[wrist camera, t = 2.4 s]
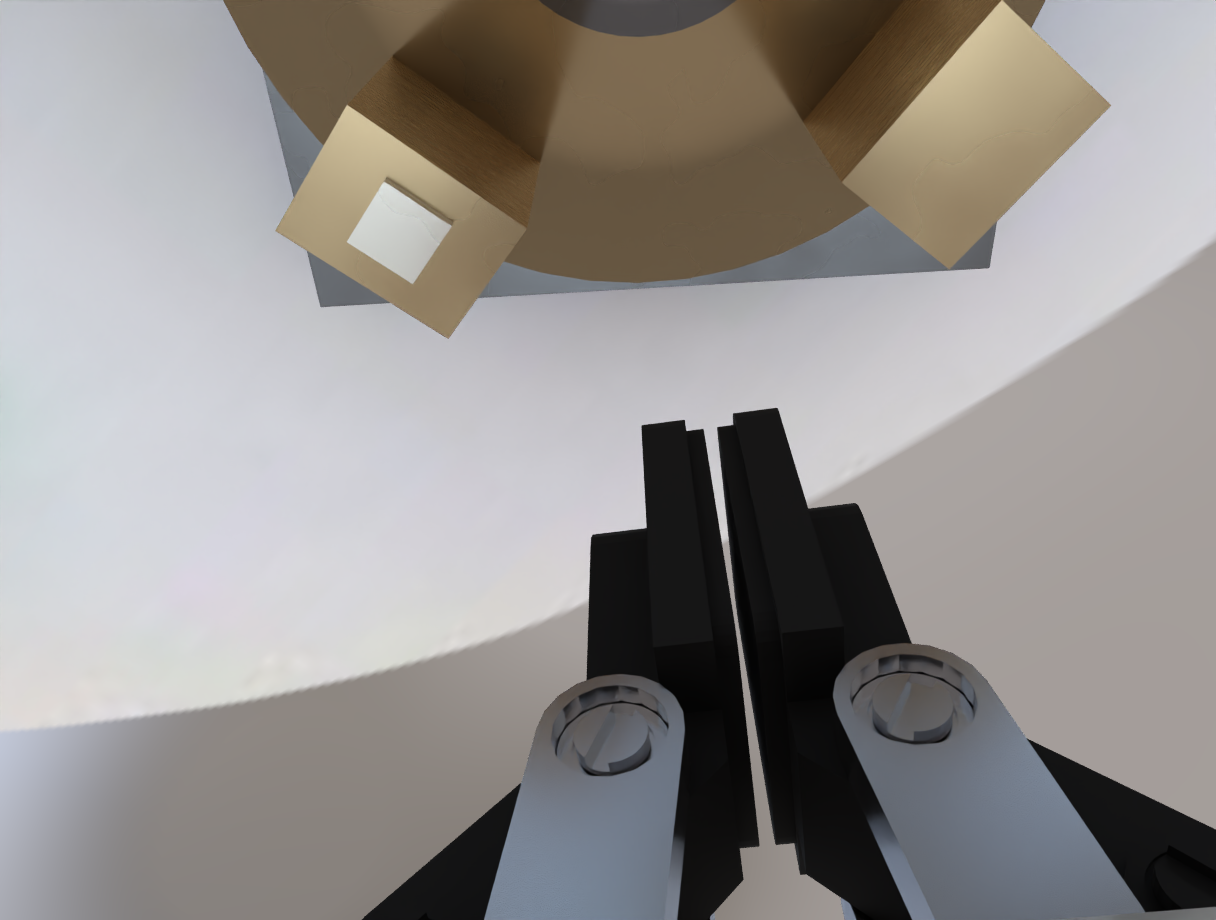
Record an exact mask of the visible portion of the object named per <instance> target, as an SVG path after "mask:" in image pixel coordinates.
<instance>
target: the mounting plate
mask: <svg viewBox="0 0 1216 920" xmlns="http://www.w3.org/2000/svg"><path fill="white" fill-rule="evenodd" d="M263 73H264V77H265V81H266V85H267V89H268V94H269V98H270V102H271V106H272V110H273V114H274V118H275V122H276V126H277V130H278V134H279V139H280V143H281V147H282V151H283V155H284V159H285V163H286V167H287V171H288V175H289V179H290V184H291V188H292V192H293V196H294V197H295V195H296V194H297V192H298V190H299V188H300V187H301V185H302V183H303V181H304V180H305V178H306V176H307V174H308V172H309V171H310V169H311V167H312V165H313V164H314V162H315V160H316V158H317V157H318V155H319V153H320V151H321V150H322V148H323V145H322V144H321V143H320V142H319V141H318V139H317V138H316V137H315V136H314V135H313V133H312V132H311V131H310V130H309V129H308V128H307V126H306V125H305V124H304V123H303V122H302V120H301V119H300V118H299V117H298V116H297V115H296V113H295V112H294V111H293V110H292V109H291V107H290V106H289V105H288V104H287V103H286V102H285V100H284V99H283V98H282V97H281V95H280V94H279V92H278V91H277V89H276V88H275V86H274V85H273V83H272V82H271V80H270V79H269V77H268V76H267V74H266V73H265V71H264V70H263ZM996 224H997V222H996V223H995V224H994V225H993V226H992V227H991V228H990V229H989V230H988V231H987V232H986V233H985V234H984V235H983V236H982V237H981V238H980V239H979V240H978V241H977V242H976V243H975V244H974V245H973V246H972V247H971V248H970V249H969V250H968V251H967V252H966V253H965V254H964V255H963V256H962V257H961V258H960V259H959V260H958V261H957V262H956V263H955V264H954V265H953V266H952V267H951V268H950V269H948V268H947V267H945V266H944V265H943V264H942V263H940V262H939V261H938V260H937V259H935V258H934V257H933V256H932V255H930V254H929V253H928V252H927V251H926V250H924V249H923V248H922V247H921V246H919V245H918V244H917V243H916V242H914V241H913V240H912V239H911V238H910V237H908V236H907V235H906V234H905V233H903V232H902V231H901V230H900V229H898V228H897V227H896V226H895V225H893V224H892V223H891V222H890V221H889V220H887V219H886V218H885V217H884V216H882V215H881V214H880V213H879V212H877V211H876V210H875V209H874V208H872V207H871V206H869V207H867V208H865V209H864V210H862V211H861V212H859V213H857V214H856V215H854V216H853V217H851V218H849V219H848V220H846V221H844V222H843V223H841V224H840V225H838V226H836V227H835V228H833V229H831V230H830V231H828V232H826V233H824V234H822V235H820V236H818V237H816V238H813V239H811V240H809V241H807V242H805V243H803V244H801V245H799V246H796V247H794V248H792V249H790V250H788V251H786V252H784V253H781V254H779V255H776V256H773V257H770V258H767V259H763V260H760V261H757V262H754V263H751V264H748V265H745V266H742V267H739V268H736V269H733V270H728V271H723V272H718V273H713V274H708V275H703V276H699V277H694V278H689V279H681V280H668V281H655V282H643V283H629V282H606V281H588V280H582V279H576V278H570V277H564V276H558V275H552V274H546V273H541V272H537V271H534V270H531V269H527V268H524V267H520V266H517V265H514V264H510V263H507V262H503V263H502V265H501V266H500V267H499V269H498V270H497V271H496V273H495V274H494V276H493V277H492V278H491V280H490V281H489V283H488V284H487V285H486V287H485V288H484V290H483V291H482V292H481V294H480V295H479V297H478V298H484V297H501V296H518V295H536V294H553V293H570V292H587V291H604V290H621V289H639V288H656V287H673V286H690V285H707V284H724V283H742V282H759V281H776V280H793V279H810V278H827V277H844V276H862V275H879V274H896V273H913V272H930V271H947V270H965V269H982V268H989V267H990V261H991V255H992V248H993V242H994V236H995V230H996ZM307 253H308V257H309V261H310V265H311V269H312V274H313V278H314V282H315V286H316V290H317V294H318V298H319V302H320V306H321V307H330V306H347V305H364V304H381V303H390V302H388V301H387V300H385V299H384V298H382V297H380V296H379V295H377V294H376V293H374V292H372V291H371V290H369V289H368V288H366V287H364V286H363V285H361V284H360V283H358V282H356V281H355V280H353V279H352V278H350V277H348V276H347V275H345V274H344V273H342V272H340V271H339V270H337V269H336V268H334V267H332V266H331V265H329V264H328V263H326V262H324V261H323V260H321V259H320V258H318V257H316V256H315V255H313V254H312V253H310V252H308V251H307Z"/></svg>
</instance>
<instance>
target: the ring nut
mask: <svg viewBox="0 0 1216 920" xmlns="http://www.w3.org/2000/svg"><path fill="white" fill-rule="evenodd" d="M223 1H224V3H225V5H226V6H227V8H228V10H229V12H230V14H231V16H232V18H233V20H234V22H235V23H236V25H237V27H238V29H239V31H240V33H241V35H242V37H243V39H244V41H245V42H246V44H247V46H248V48H249V49H250V51H251V52H252V54H253V55H254V57H255V58H256V60H257V61H258V63H259V64H260V66H261V67H262V69H263V70H264V71H265V73H266V74H267V76H268V77H269V79H270V80H271V82H272V83H273V85H274V86H275V88H276V89H277V91H278V92H279V94H280V95H281V97H282V98H283V99H284V100H285V102H286V103H287V104H288V105H289V106H290V107H291V109H292V110H293V111H294V112H295V113H296V115H297V116H298V117H299V118H300V119H301V120H302V122H303V123H304V124H305V125H306V126H307V128H308V129H309V130H310V131H311V132H312V133H313V135H314V136H315V137H316V138H317V139H318V141H319V142H320V143H321V144H322V145H323V148H322V150H321V151H320V153H319V155H318V157H317V158H316V160H315V162H314V164H313V165H312V167H311V169H310V171H309V172H308V174H307V176H306V178H305V180H304V181H303V183H302V185H301V187H300V188H299V190H298V192H297V194H296V195H295V197H294V199H293V201H292V202H291V204H290V206H289V208H288V209H287V211H286V213H285V215H284V216H283V218H282V220H281V222H280V223H279V225H278V227H277V229H276V231H277V232H278V233H280V234H281V235H283V236H285V237H286V238H288V239H289V240H291V241H292V242H294V243H296V244H297V245H299V246H300V247H302V248H304V249H305V250H307V251H308V252H310V253H312V254H313V255H315V256H316V257H318V258H320V259H321V260H323V261H324V262H326V263H328V264H329V265H331V266H332V267H334V268H336V269H337V270H339V271H340V272H342V273H344V274H345V275H347V276H348V277H350V278H352V279H353V280H355V281H356V282H358V283H360V284H361V285H363V286H364V287H366V288H368V289H369V290H371V291H372V292H374V293H376V294H377V295H379V296H380V297H382V298H384V299H385V300H387V301H388V302H390V303H392V304H393V305H395V306H396V307H398V308H400V309H401V310H403V311H404V312H406V313H408V314H409V315H411V316H412V317H414V318H416V319H417V320H419V321H420V322H422V323H424V324H425V325H427V326H428V327H430V328H432V329H433V330H435V331H436V332H438V333H440V334H441V335H443V336H444V337H446V338H448V339H449V337H450V336H451V334H452V333H453V332H454V330H455V329H456V327H457V326H458V325H459V323H460V322H461V320H462V319H463V318H464V316H465V315H466V313H467V312H468V311H469V309H470V308H471V306H472V305H473V304H474V302H475V301H476V299H477V298H478V297H479V295H480V294H481V292H482V291H483V290H484V288H485V287H486V285H487V284H488V283H489V281H490V280H491V278H492V277H493V276H494V274H495V273H496V271H497V270H498V269H499V267H500V266H501V265H502V263H503V262H507V263H510V264H514V265H517V266H520V267H524V268H527V269H531V270H534V271H537V272H541V273H546V274H552V275H558V276H564V277H570V278H576V279H582V280H588V281H606V282H629V283H643V282H655V281H668V280H681V279H689V278H694V277H699V276H703V275H708V274H713V273H718V272H723V271H728V270H733V269H736V268H739V267H742V266H745V265H748V264H751V263H754V262H757V261H760V260H763V259H767V258H770V257H773V256H776V255H779V254H781V253H784V252H786V251H788V250H790V249H792V248H794V247H796V246H799V245H801V244H803V243H805V242H807V241H809V240H811V239H813V238H816V237H818V236H820V235H822V234H824V233H826V232H828V231H830V230H831V229H833V228H835V227H836V226H838V225H840V224H841V223H843V222H844V221H846V220H848V219H849V218H851V217H853V216H854V215H856V214H857V213H859V212H861V211H862V210H864V209H865V208H867V207H869V206H871V207H872V208H874V209H875V210H876V211H877V212H879V213H880V214H881V215H882V216H884V217H885V218H886V219H887V220H889V221H890V222H891V223H892V224H893V225H895V226H896V227H897V228H898V229H900V230H901V231H902V232H903V233H905V234H906V235H907V236H908V237H910V238H911V239H912V240H913V241H914V242H916V243H917V244H918V245H919V246H921V247H922V248H923V249H924V250H926V251H927V252H928V253H929V254H930V255H932V256H933V257H934V258H935V259H937V260H938V261H939V262H940V263H942V264H943V265H944V266H945V267H947V268H948V269H950V268H951V267H952V266H953V265H954V264H955V263H956V262H957V261H958V260H959V259H960V258H961V257H962V256H963V255H964V254H965V253H966V252H967V251H968V250H969V249H970V248H971V247H972V246H973V245H974V244H975V243H976V242H977V241H978V240H979V239H980V238H981V237H982V236H983V235H984V234H985V233H986V232H987V231H988V230H989V229H990V228H991V227H992V226H993V225H994V224H995V223H996V222H997V221H998V220H999V219H1000V218H1001V217H1002V216H1003V215H1004V214H1005V213H1006V212H1007V211H1008V209H1009V208H1010V207H1011V206H1012V205H1013V204H1014V203H1015V202H1016V201H1017V200H1018V199H1019V198H1020V197H1021V196H1022V195H1023V194H1024V193H1025V192H1026V191H1027V190H1028V189H1029V188H1030V187H1031V186H1032V185H1033V184H1034V183H1035V182H1036V181H1037V180H1038V179H1039V178H1040V177H1041V176H1042V175H1043V174H1044V173H1045V172H1046V171H1047V170H1048V169H1049V168H1050V167H1051V166H1052V165H1053V164H1054V163H1055V162H1056V161H1057V160H1058V159H1059V158H1060V157H1061V156H1062V155H1063V154H1064V153H1065V152H1066V151H1067V150H1068V149H1069V148H1070V147H1071V146H1072V145H1073V144H1074V143H1075V142H1076V141H1077V140H1078V139H1079V138H1080V137H1081V135H1082V134H1083V133H1084V132H1085V131H1086V130H1087V129H1088V128H1089V127H1090V126H1091V125H1092V124H1093V123H1094V122H1095V121H1096V120H1097V119H1098V118H1099V117H1100V116H1101V115H1102V114H1103V113H1104V112H1105V111H1106V110H1107V109H1108V108H1109V107H1110V106H1111V105H1110V104H1109V103H1108V102H1107V101H1106V100H1105V99H1104V98H1103V97H1102V96H1101V95H1100V94H1099V93H1098V92H1097V91H1096V90H1095V89H1094V88H1093V87H1092V86H1091V85H1090V84H1089V83H1087V82H1086V81H1085V80H1084V79H1083V78H1082V77H1081V76H1080V75H1079V74H1078V73H1077V72H1076V71H1075V70H1074V69H1073V68H1072V67H1071V66H1070V65H1069V64H1068V63H1067V62H1066V61H1065V60H1064V59H1063V58H1062V57H1061V56H1060V55H1058V54H1057V53H1056V52H1055V51H1054V50H1053V49H1052V48H1051V47H1050V46H1049V45H1048V44H1047V43H1046V42H1045V41H1044V40H1043V39H1042V38H1041V37H1040V36H1039V35H1038V34H1037V33H1036V32H1035V31H1034V30H1033V29H1032V28H1031V27H1032V25H1033V23H1034V21H1035V19H1036V18H1037V16H1038V14H1039V12H1040V10H1041V8H1042V6H1043V4H1044V2H1045V0H223Z"/></svg>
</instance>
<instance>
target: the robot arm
mask: <svg viewBox="0 0 1216 920" xmlns="http://www.w3.org/2000/svg"><path fill="white" fill-rule="evenodd" d="M717 431H718V442H719V451H720V461H721V470H722V479H723V489H724V498H725V508H726V517H727V526H728V536H729V545H730V555H731V564H732V573H733V583H734V592H735V601H736V608H737V616H738V622H739V629H740V634H741V641H742V647H743V653H744V659H745V665H746V671H747V677H748V683H749V689H750V695H751V701H752V707H753V713H754V719H755V725H756V731H757V737H758V743H759V749H760V756H761V762H762V767H763V773H764V779H765V785H766V791H767V798H768V804H769V810H770V815H771V821H772V828H773V834H774V839H775V844H776V845H779V844H790V843H794V844H795V849H796V855H797V860H798V865H799V871H800V875H803V874H807V875H808V876H810V877H811V878H813V879H814V880H816V881H817V882H819V883H820V884H822V885H823V886H825V887H826V888H828V889H829V890H830V891H832V892H833V893H835V894H836V895H838V896H839V897H841V904H842V909H843V914H844V919H845V920H1216V829H1213V828H1211V827H1209V826H1207V825H1205V824H1203V823H1201V822H1199V821H1197V820H1195V819H1193V818H1190V817H1188V816H1186V815H1184V814H1182V813H1180V812H1178V811H1176V810H1174V809H1172V808H1170V807H1168V806H1165V805H1164V804H1162V803H1159V802H1157V801H1155V800H1153V799H1151V798H1149V797H1147V796H1145V795H1143V794H1141V793H1139V792H1137V791H1134V790H1133V789H1130V788H1128V787H1126V786H1124V785H1122V784H1120V783H1118V782H1116V781H1114V780H1112V779H1110V778H1108V777H1106V776H1103V775H1101V774H1099V773H1097V772H1095V771H1093V770H1091V769H1089V768H1087V767H1085V766H1083V765H1080V764H1078V763H1076V762H1074V761H1072V760H1070V759H1068V758H1066V757H1064V756H1062V755H1060V754H1058V753H1056V752H1054V751H1052V750H1049V749H1047V748H1045V747H1043V746H1041V745H1039V744H1037V743H1035V742H1033V741H1031V740H1029V739H1027V738H1026V737H1025V735H1024V734H1023V732H1022V731H1021V730H1020V728H1019V727H1018V725H1017V724H1016V722H1015V721H1014V719H1013V718H1012V717H1011V715H1010V713H1009V712H1008V711H1007V709H1006V708H1005V706H1004V705H1003V703H1002V702H1001V700H1000V699H999V698H998V696H997V694H996V693H995V692H994V690H993V689H992V687H991V686H990V684H989V683H988V681H987V680H986V679H985V678H984V677H983V676H982V675H981V674H980V673H979V672H978V671H977V670H976V669H975V668H974V666H973V665H971V664H970V663H968V662H966V661H965V660H963V659H961V658H960V657H958V656H956V655H955V654H953V653H951V652H948V651H945V650H941V649H938V648H935V647H932V646H928V645H919V644H912V643H911V641H910V638H909V635H908V632H907V630H906V627H905V624H904V622H903V619H902V617H901V614H900V611H899V609H898V606H897V604H896V601H895V598H894V596H893V593H892V590H891V588H890V585H889V583H888V580H887V578H886V575H885V572H884V570H883V567H882V564H881V562H880V559H879V556H878V554H877V551H876V549H875V546H874V543H873V541H872V538H871V536H870V533H869V530H868V528H867V525H866V522H865V520H864V517H863V514H862V512H861V510H860V508H859V506H858V505H857V504H856V503H852V504H843V505H835V506H827V507H818V508H811V509H808V507H807V503H806V500H805V497H804V493H803V490H802V487H801V484H800V480H799V477H798V474H797V470H796V467H795V464H794V460H793V457H792V454H791V450H790V447H789V444H788V440H787V437H786V434H785V430H784V427H783V424H782V421H781V417H780V414H779V411H778V408H772V409H764V410H757V411H749V412H741V413H733V425H731V426H723V427H717ZM642 446H643V465H644V484H645V503H646V522H647V528H645V529H636V530H628V531H620V532H611V533H603V534H595V535H592V537H591V552H590V585H589V620H588V651H587V652H588V653H587V654H588V655H587V680H586V681H584V682H581V683H578V684H576V685H574V686H573V687H571V688H570V689H568V690H567V691H565V692H563V693H562V694H560V695H559V696H558V697H557V698H556V699H555V700H554V701H553V702H552V703H551V704H550V706H549V707H548V708H547V709H546V710H545V711H544V714H543V716H542V718H541V720H540V722H539V724H538V726H537V729H536V733H535V736H534V740H533V743H532V747H531V750H530V754H529V758H528V762H527V765H526V769H525V772H524V776H523V780H522V783H520V784H519V785H518V786H517V787H516V788H515V789H513V790H512V791H511V792H510V793H509V794H508V795H506V796H505V797H504V798H503V799H502V800H501V801H499V802H498V803H497V804H496V805H495V806H494V807H492V808H491V809H490V810H489V811H488V812H487V813H485V814H484V815H483V816H482V817H481V818H479V819H478V820H477V821H476V822H475V823H474V824H472V825H471V826H470V827H469V828H468V829H467V830H466V831H464V832H463V833H462V834H461V835H460V836H458V838H456V839H455V840H454V841H453V842H452V843H450V844H449V845H448V846H447V847H446V848H444V849H443V850H442V851H441V852H440V853H439V854H437V855H436V856H435V857H434V858H433V859H432V860H430V862H428V863H427V864H426V865H425V866H423V867H422V868H421V869H420V870H419V871H418V872H416V873H415V874H414V875H413V876H412V877H411V878H409V879H408V880H407V881H406V882H405V883H404V884H402V885H401V886H400V887H399V888H398V889H397V890H395V891H394V892H393V893H392V894H391V895H389V896H388V897H387V898H386V899H385V900H384V901H383V902H381V903H380V904H379V905H378V906H377V907H376V908H374V909H373V910H372V911H371V912H370V913H368V914H367V915H366V916H365V917H364V918H363V919H362V920H715V914H714V912H715V911H716V910H717V908H718V907H719V906H720V905H721V904H722V903H723V902H724V901H725V900H726V898H727V897H728V896H729V895H730V894H731V893H732V892H733V891H734V890H735V888H736V887H737V886H738V885H739V884H740V883H741V882H742V881H743V872H742V865H741V856H740V848H747V847H758V846H759V837H758V827H757V819H756V809H755V800H754V790H753V782H752V772H751V763H750V754H749V745H748V735H747V726H746V717H745V707H744V698H743V689H742V679H741V670H740V661H739V653H738V645H737V637H736V630H735V623H734V617H733V610H732V604H731V598H730V591H729V585H728V579H727V573H726V567H725V560H724V555H723V548H722V542H721V535H720V529H719V523H718V517H717V510H716V504H715V498H714V492H713V485H712V479H711V473H710V467H709V461H708V454H707V448H706V442H705V436H704V430H703V429H700V430H692V431H686V426H685V420H679V421H672V422H664V423H656V424H648V425H642Z"/></svg>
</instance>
